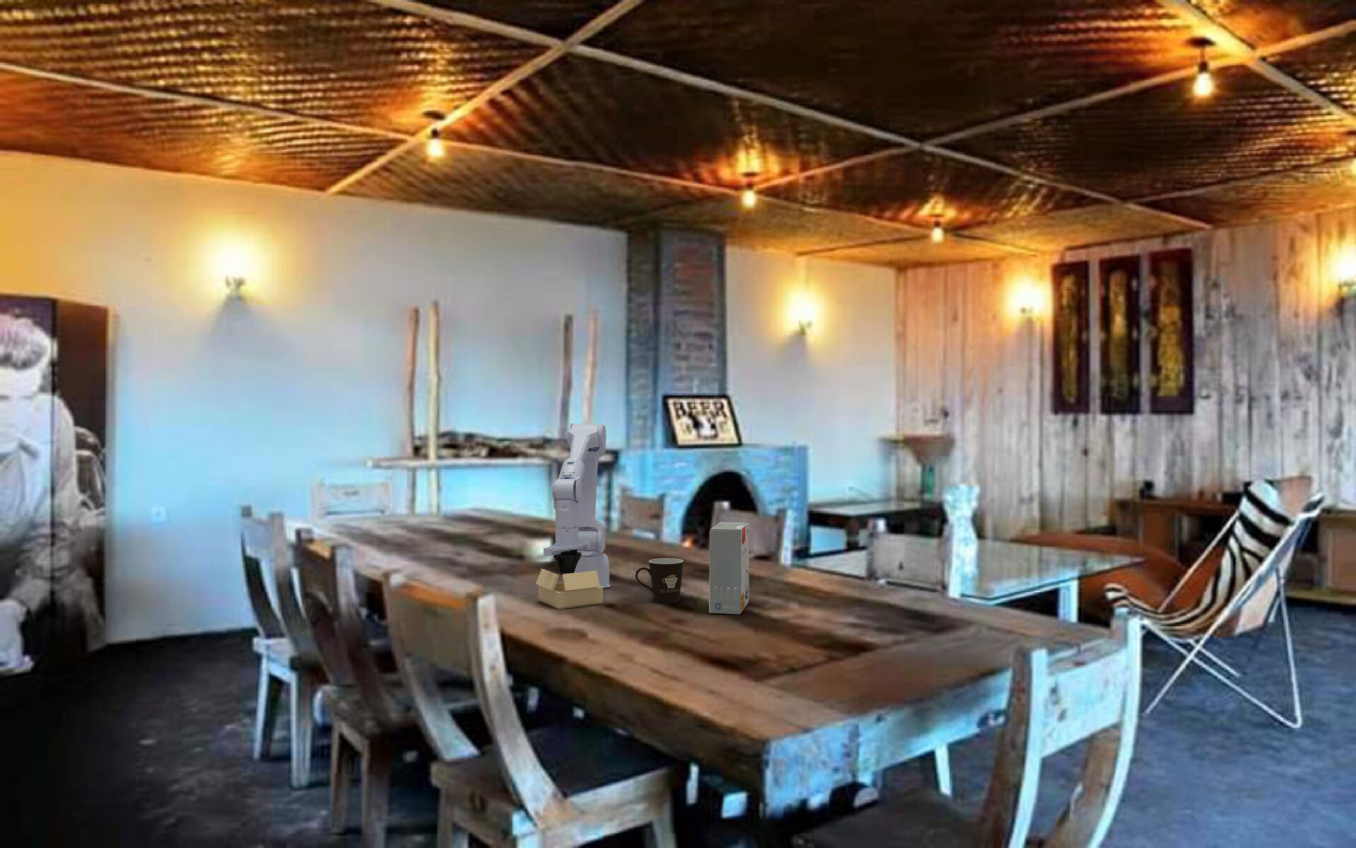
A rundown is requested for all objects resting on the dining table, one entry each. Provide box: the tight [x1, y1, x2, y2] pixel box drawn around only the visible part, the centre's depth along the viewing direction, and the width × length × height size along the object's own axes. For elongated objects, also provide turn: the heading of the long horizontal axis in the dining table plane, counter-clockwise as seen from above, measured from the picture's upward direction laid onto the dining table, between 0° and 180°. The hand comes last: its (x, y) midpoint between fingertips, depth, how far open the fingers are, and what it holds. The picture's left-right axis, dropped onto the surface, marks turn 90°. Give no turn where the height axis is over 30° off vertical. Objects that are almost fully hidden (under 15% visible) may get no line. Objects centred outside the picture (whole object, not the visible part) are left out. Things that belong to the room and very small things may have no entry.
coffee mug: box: [634, 557, 684, 605], centre depth 235 cm, size 12×9×10 cm
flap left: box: [561, 571, 600, 591], centre depth 229 cm, size 9×4×1 cm
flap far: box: [535, 568, 560, 591], centre depth 231 cm, size 4×9×1 cm
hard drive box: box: [708, 521, 750, 615], centre depth 227 cm, size 16×8×20 cm, turn 168°
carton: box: [538, 581, 604, 610], centre depth 234 cm, size 12×12×4 cm
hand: (567, 581), depth 234 cm, fingers closed
